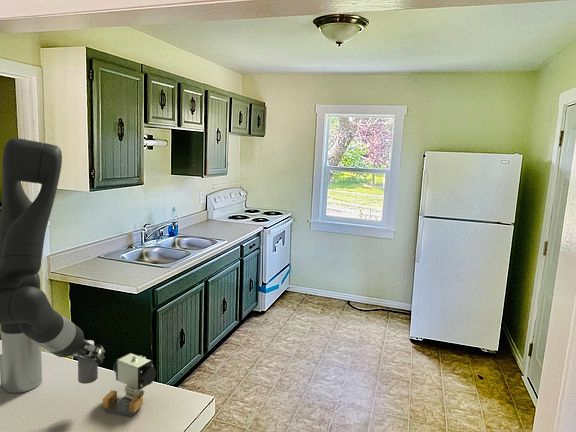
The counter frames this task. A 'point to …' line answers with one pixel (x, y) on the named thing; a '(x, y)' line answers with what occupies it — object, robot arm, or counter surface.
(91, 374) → the bottle
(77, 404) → the counter surface
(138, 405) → the clip bracket
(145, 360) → the pneumatic valve
